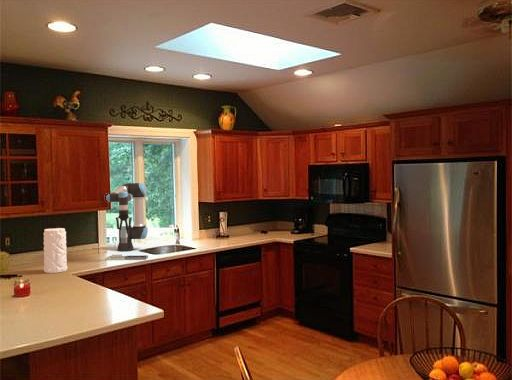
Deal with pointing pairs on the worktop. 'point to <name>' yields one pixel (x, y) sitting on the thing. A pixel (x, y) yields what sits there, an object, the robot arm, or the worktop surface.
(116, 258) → the tray
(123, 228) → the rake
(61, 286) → the worktop surface
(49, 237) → the paper towel roll
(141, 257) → the slot channel
